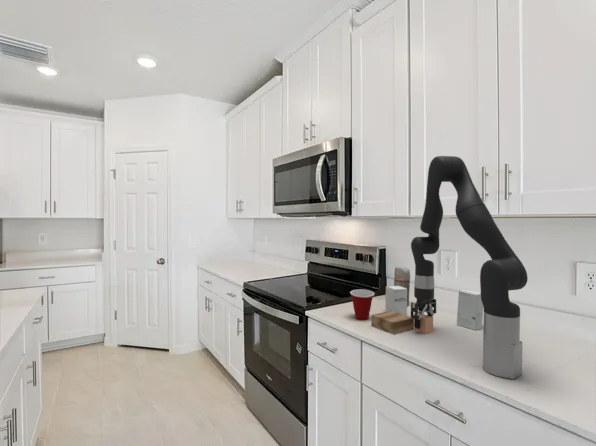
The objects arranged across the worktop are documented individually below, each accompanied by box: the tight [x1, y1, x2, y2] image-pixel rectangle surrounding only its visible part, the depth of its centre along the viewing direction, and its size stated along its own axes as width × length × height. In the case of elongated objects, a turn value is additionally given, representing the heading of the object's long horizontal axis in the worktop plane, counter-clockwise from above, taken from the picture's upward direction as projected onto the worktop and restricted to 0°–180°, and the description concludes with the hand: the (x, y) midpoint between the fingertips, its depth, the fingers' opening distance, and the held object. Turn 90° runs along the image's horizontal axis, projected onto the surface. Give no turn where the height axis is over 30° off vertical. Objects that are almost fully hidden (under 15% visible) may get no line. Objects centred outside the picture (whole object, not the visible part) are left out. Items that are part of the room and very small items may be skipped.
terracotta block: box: [414, 313, 434, 335], centre depth 134 cm, size 5×5×6 cm
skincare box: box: [456, 289, 484, 331], centre depth 140 cm, size 8×6×15 cm
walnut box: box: [371, 311, 415, 335], centre depth 138 cm, size 12×12×5 cm
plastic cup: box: [349, 288, 375, 321], centre depth 150 cm, size 11×11×12 cm
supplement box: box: [385, 285, 408, 316], centre depth 158 cm, size 7×7×13 cm
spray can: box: [393, 265, 411, 307], centre depth 175 cm, size 8×8×20 cm
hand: (423, 326), depth 134 cm, fingers open, 8 cm apart
